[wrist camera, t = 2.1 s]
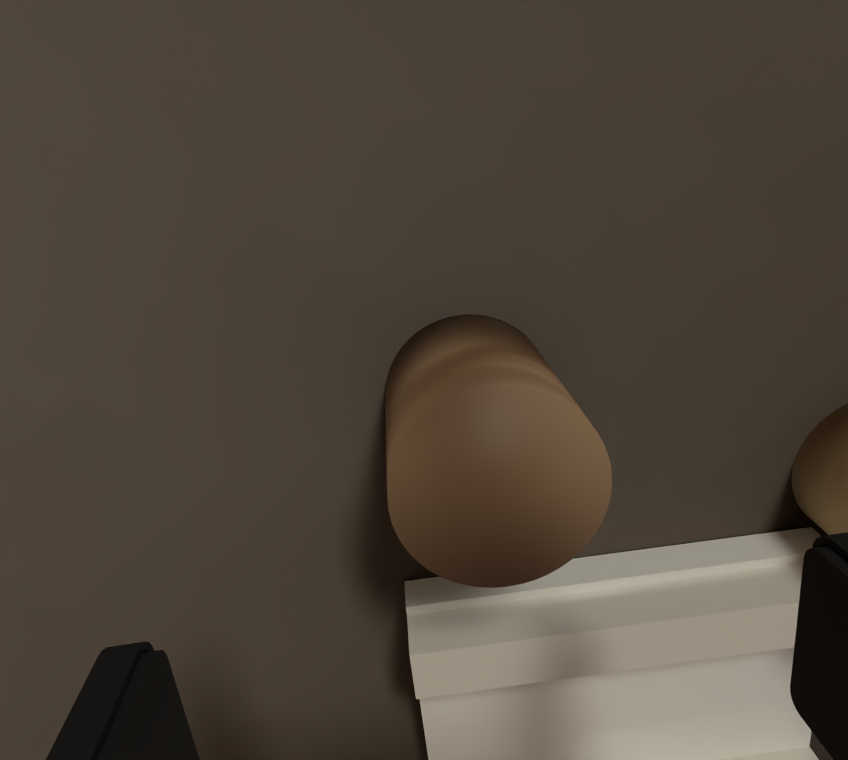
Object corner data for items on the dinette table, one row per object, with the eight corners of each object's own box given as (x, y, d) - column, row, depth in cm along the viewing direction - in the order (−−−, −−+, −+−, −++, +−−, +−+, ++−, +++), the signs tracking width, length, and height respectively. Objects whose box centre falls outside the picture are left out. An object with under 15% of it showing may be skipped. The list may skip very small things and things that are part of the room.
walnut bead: (544, 304, 18) (611, 375, 13) (550, 456, 19) (612, 572, 14) (374, 325, 18) (372, 405, 12) (395, 475, 19) (402, 600, 14)
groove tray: (811, 527, 21) (874, 584, 18) (784, 755, 24) (833, 830, 22) (404, 581, 21) (408, 646, 18) (437, 804, 24) (444, 886, 21)
